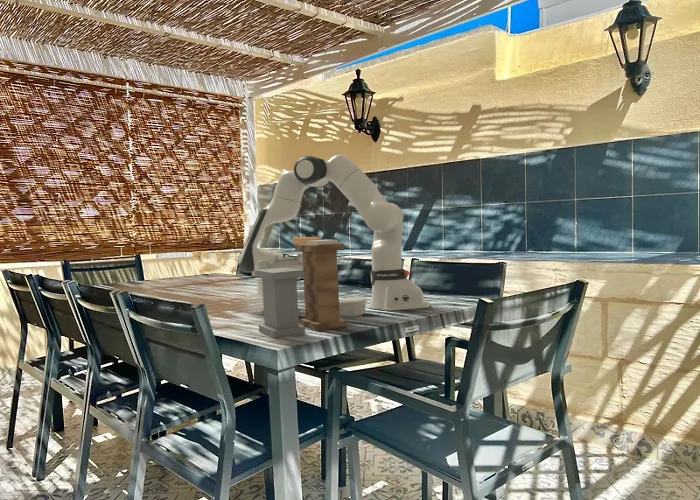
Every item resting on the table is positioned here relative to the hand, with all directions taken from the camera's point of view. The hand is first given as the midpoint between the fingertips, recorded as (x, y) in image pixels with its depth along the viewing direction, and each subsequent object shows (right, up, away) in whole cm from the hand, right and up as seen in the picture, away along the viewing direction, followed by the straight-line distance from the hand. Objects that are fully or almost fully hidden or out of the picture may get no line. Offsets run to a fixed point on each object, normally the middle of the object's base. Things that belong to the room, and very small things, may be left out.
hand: (288, 256), depth 192 cm
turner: (+9, +4, -17) cm, 20 cm away
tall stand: (+13, -22, -20) cm, 33 cm away
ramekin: (+22, -21, -1) cm, 30 cm away
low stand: (+1, -23, -27) cm, 35 cm away
